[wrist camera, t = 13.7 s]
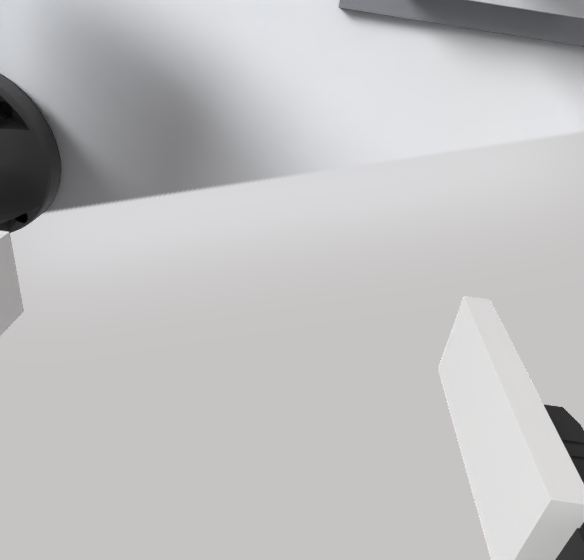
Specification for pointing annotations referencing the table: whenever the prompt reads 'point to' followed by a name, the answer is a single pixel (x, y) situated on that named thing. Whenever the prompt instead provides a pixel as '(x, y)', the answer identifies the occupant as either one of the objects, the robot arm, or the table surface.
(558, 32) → the socket dock
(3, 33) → the table surface
